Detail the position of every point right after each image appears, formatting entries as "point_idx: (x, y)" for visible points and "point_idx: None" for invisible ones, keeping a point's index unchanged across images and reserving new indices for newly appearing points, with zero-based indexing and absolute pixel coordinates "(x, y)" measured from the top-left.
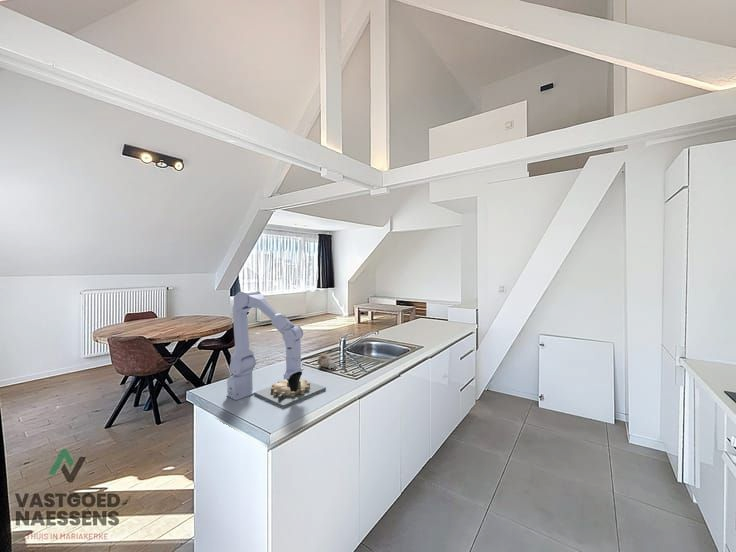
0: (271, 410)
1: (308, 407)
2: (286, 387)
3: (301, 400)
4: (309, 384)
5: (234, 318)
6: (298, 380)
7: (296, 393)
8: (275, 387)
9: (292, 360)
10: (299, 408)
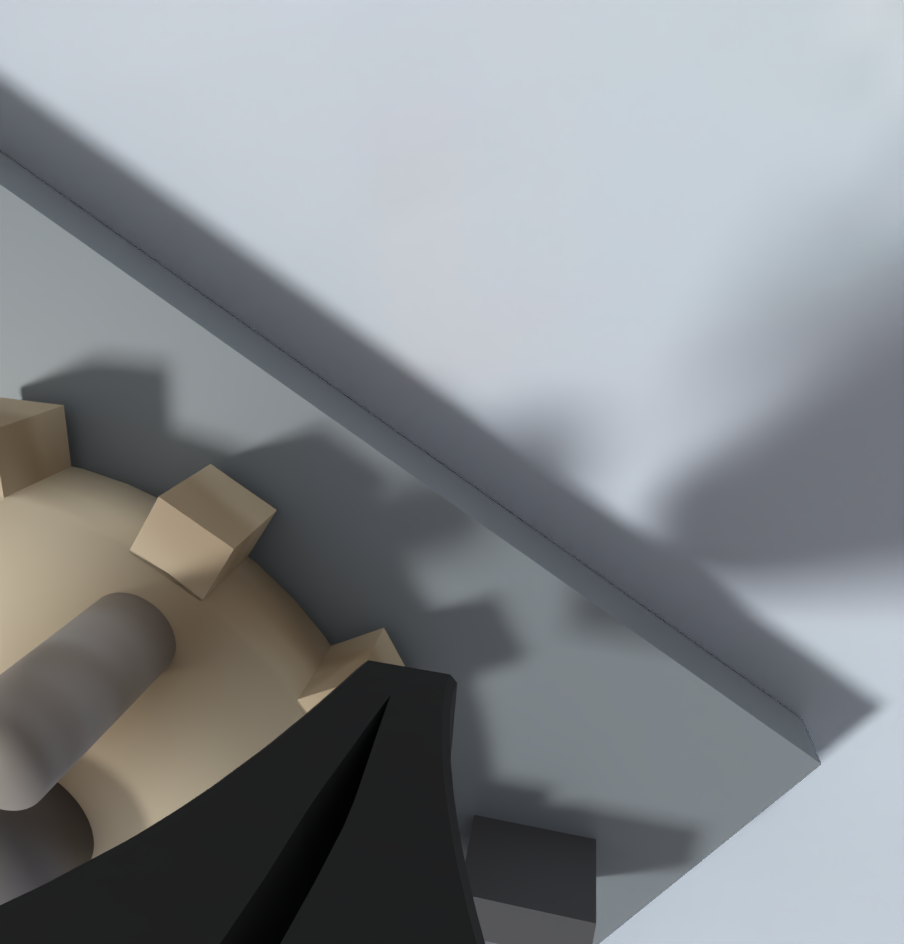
0: (870, 884)
1: (803, 190)
2: None
3: (429, 455)
4: None
5: None
6: (254, 869)
7: (296, 626)
8: None
9: None
10: (839, 399)
